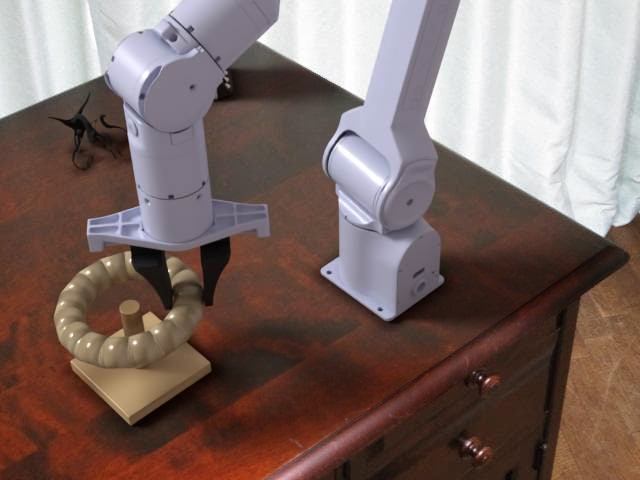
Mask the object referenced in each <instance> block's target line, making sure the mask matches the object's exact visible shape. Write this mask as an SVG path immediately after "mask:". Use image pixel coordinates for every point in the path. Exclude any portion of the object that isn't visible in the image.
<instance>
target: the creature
mask: <svg viewBox="0 0 640 480" xmlns="http://www.w3.org/2000/svg"><path fill="white" fill-rule="evenodd" d="M90 97H91V91H88V95H87V97H86V99H85V100H84V103H82V105H81V106H80V108H79V109H78V110H77V112H76V113H75V114H74V115H73V117H72V118H69V119H63V118H60V117H53V116H47V118H48V119H52V120H55V121H58V122H60V123H62V124H63V125H64V126H66V127H68V128H70V129H72V130H73V140H74V141H73V142H74V149H73V150H72V156H71V161H72V164H73V165H74V166H75V167H76V168H77V169H79V170H87V169H88V168H89V161H90V158H91V157H92V154H89V155H88V154H87V155H86V154H85V157H88V158H87V161H86V167H85V168H84V167H79V166H78V165H77V163H76V162H75V157H76V153H78V154H79V155H81V156H83V154H81V153H80V149H79V148H80V147H81V146H80V145H81V143H82V140H83V139H84V135H85V132H86V136H87V139H88V141H89V142H90V143H91V144H94V143H96V142H97V140H99V141H100V144H101V146H102V147H101V148H102V149H103V150H104V151H108V152H110V153H111V155H112V156H113V158H114V159H115V160H118V158H117V157H116V155H115V153H114V152H113V150H112V149H111V148H109V147H107V146H108V145H110V146H111V147H114V148H116V151H117V152H118V154H119V156H120V157H122V156H123V155H122V153H121V151H120V149H119V147H118V145H117V144H116V141H112V139H111V137H110V135H108V133H107V132H103V131H102V132H101V133H99V132H98V131H97V130H96V126H97V121H98V120H99V121H100V123H101V124H102V126H103V127H104V128H106V129H119V130H123V131H125V132H126V133H127V134H128V130H127V129H125V128H124V127H122V126H118V125H112V124H108V122H106V121H105V119H104V118H105V117H107V115H106V114H105V113H104V114H100V115H99V118H96V119H95V120H93V121H92V122H90V121H89V119H88V118H87V117H86V116H85V115H83V110H84V109H85V107H86V106H87V104H88V103H89V100H90ZM93 123H95V125H94V126H93V125H92V124H93ZM103 134H104V135H103ZM103 138H106V141H107V143H105V141H104V139H103ZM81 139H82V140H81ZM117 143H121V144H123V143H124V144H125V143H129V139H128V138H127V140H126V141H117Z"/></svg>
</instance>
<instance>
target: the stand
mask: <svg viewBox="0 0 640 480" xmlns="http://www.w3.org/2000/svg"><path fill="white" fill-rule="evenodd" d="M119 315H120V320H121V325H122V328H121V329H119V330H117V331H116V332H114V333H113V334H111V335H110V336H109V337H130V336H133V335H136V334H139V333H143V332H146V331H149V330H150V329H152V328H153V327H155V326H156V325H157V324H159V323H160V322H162V321H163V320H161V319H160V318H159V317H158V316H157V315H155V314H154V313H153V312H152V311H148V312H146V313H145V314H144V315H143V313H142V306H141V303H140V302H139V301H137V300H135V299H127V300H125V301H122V302H121V304H120V305H119ZM69 362H70V366H71V369H72V371H73V372H74V373H75V374H76V375H77V376H78V377H79V378H81V380H82V381H83V382H84V383H85V384H87V385H88V386H89V387H90V389H92V391H94V392H95V393H96V394H97V395H98V396H99V397H100V398H101V399H102V400H103V401H104V402H105V403H106V404H107V405H109V407H110V408H112V410H114V411H115V412H116V413H117V414H118V415H119V416H120V417H121V418H122V419H123V420H124V421H125V422H126V423H127V424H128V425H129V426H133V425H134V424H136V423H137V422H139V421H140V420H142V419H143V418H145V417H146V416H147V415H149V414H150V413H152V412H154V411H155V410H156V409H158V408H159V407H161V406H163V405H165V403H166V402H168V401H170V400H171V399H173V398H174V397H175V396H177V395H178V394H180V393H182V392H183V391H184V390H186V389H188V388H189V387H191V385H193V384H195V383H196V382H198V381H199V380H201V379H202V378H204V377H205V376H207V375H208V374H209V373H211V372H212V364H211V362H210V361H209V360H208V359H207V358H206V357H205V356H204V355H202V354H201V353H200V352H199V351H198V350H196V349H195V348H194V347H193V346H192V345H191V344H189V342H188V341H187V342H186V343H185V344H183V345H182V346H180V347H179V348H178V349H176V350H175V351H173V352H172V353H170V354H169V355H168V356H166V357H165V358H163V359H161V360H158V361H155V362H152V363H149V364H146V365H143V366H140V367H137V368H128V369H104V368H100V367H97V366H94V365H91V364H88V363H85V362H82V361H80V360H78V359H77V358H76V357H74V358H72V359H71V360H70V361H69Z"/></svg>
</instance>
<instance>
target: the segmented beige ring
mask: <svg viewBox="0 0 640 480" xmlns="http://www.w3.org/2000/svg"><path fill="white" fill-rule="evenodd" d="M165 256H166V262H167V267H168V271H169V275H170V279H171V283H172V293H173V308H172V310H169V312H168V313H167V315H166V316H165V317H164V319H163V320H161V321H162V322H160V323H159V324H157V325H156V326H155V327H153V328H152V329H150V330H149V331H146V332H143V333H139V334H136V335H133V336H130V337H110V336H107V335H104V334H102V333H98V332H95V330H94V329H92V328H91V327H90V326H89V325H88V321H87V318H86V317H87V314H88V311H89V307H90V306H91V304H92V303H93V302H94V301H95V300H96V298H97V297H98V296H100V295H101V294H102V293H104V292H105V291H108V290H109V289H110V288H112V287H114V286H117V285H120V284H123V283H126V282H129V281H147V280H146V279H145V278H144V277H143V276H142V275H140V274H139V273H137V272H136V271H135V270H134V268H133V266H132V263H131V250H127V251H122V252H119V253H115V254H112V255H109V256H106V257H102V258H99V259H98V260H96V261H95V262H92V263H91V264H90V265H88V266H86V267H85V268H83V269H82V270H80V271H79V272H77V273H76V274H75V275H74V277H72V278H71V280H70V281H69V282H68V284H67V285H66V286H65V287H64V289H63V290H62V291H61V292H60V294H59V296H58V299H57V300H58V301H57V303H56V307H55V311H54V314H53V322H54V326H55V329H56V334H57V337H58V340H59V342H60V344H61V345H62V346H63V347H64V348H65V349H66V350H67V351H68V352H69V353H70V354H71V355H72V356H73V357H74V358H77V359H78V360H80V361H82V362H85V363H88V364H91V365H94V366H97V367H100V368H104V369H128V368H137V367H140V366H143V365H146V364H149V363H152V362H155V361H158V360H161V359H163V358H165V357H166V356H168V355H169V354H170V353H172V352H173V351H175V350H176V349H178V348H179V347H180V346H182V345H183V344H185V343H186V342H187V343H188V341H189V339H190V338H191V336H192V335H193V333H194V332H195V331H196V329H197V328H198V326H200V323H201V322H202V319H203V314H204V307H205V303H204V287H203V286H202V283H201V280H200V278H199V276H198V274H197V273H196V271H195V270H194V269H193V268H192V267H190V266H189V265H187V264H186V263H185V262H184V261H182V260H181V259H179V257H176V256H174V255H171V254H167V253H165Z"/></svg>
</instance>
